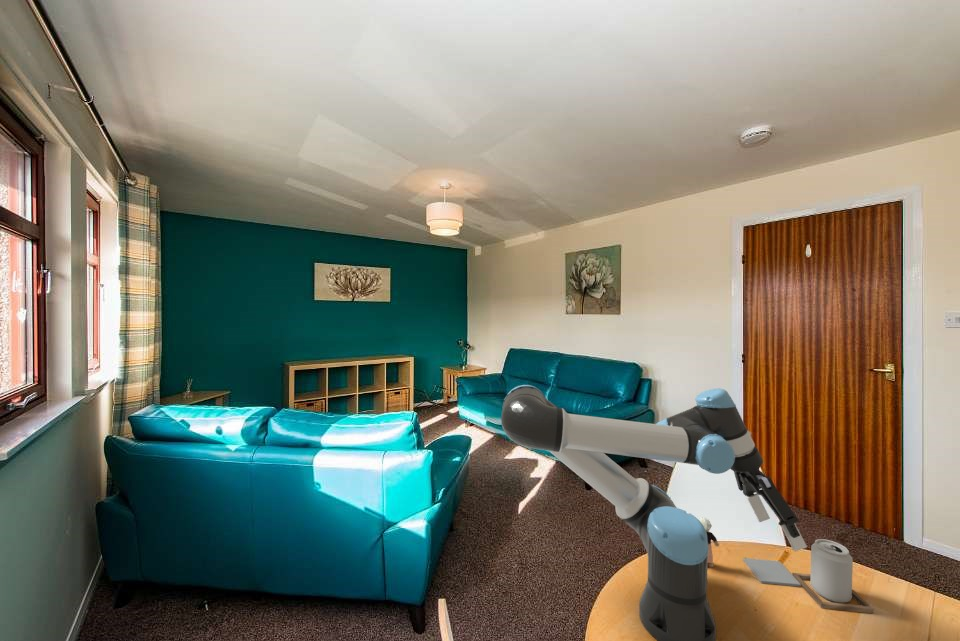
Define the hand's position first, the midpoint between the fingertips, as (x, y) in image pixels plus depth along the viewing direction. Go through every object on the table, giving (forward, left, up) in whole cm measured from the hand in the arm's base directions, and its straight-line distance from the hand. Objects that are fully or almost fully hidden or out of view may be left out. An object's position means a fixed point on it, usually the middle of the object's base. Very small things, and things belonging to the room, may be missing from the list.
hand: (780, 533), depth 93 cm
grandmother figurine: (-13, +10, -16) cm, 23 cm away
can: (+13, +3, -16) cm, 20 cm away
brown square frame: (+13, +3, -16) cm, 20 cm away
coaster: (+3, +9, -16) cm, 18 cm away
